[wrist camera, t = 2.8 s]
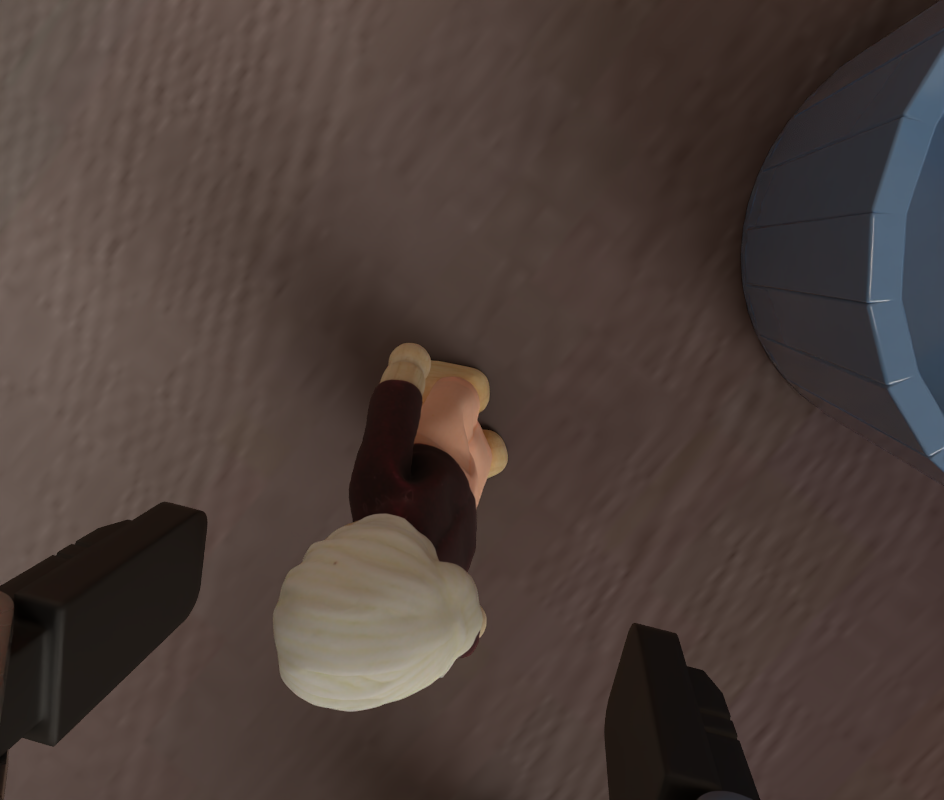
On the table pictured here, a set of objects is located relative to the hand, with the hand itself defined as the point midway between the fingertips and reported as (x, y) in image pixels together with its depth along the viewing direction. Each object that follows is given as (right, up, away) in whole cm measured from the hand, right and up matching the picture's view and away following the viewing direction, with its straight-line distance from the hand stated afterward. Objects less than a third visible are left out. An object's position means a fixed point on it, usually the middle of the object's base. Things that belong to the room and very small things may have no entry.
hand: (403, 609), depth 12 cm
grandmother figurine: (+1, +2, +10) cm, 11 cm away
